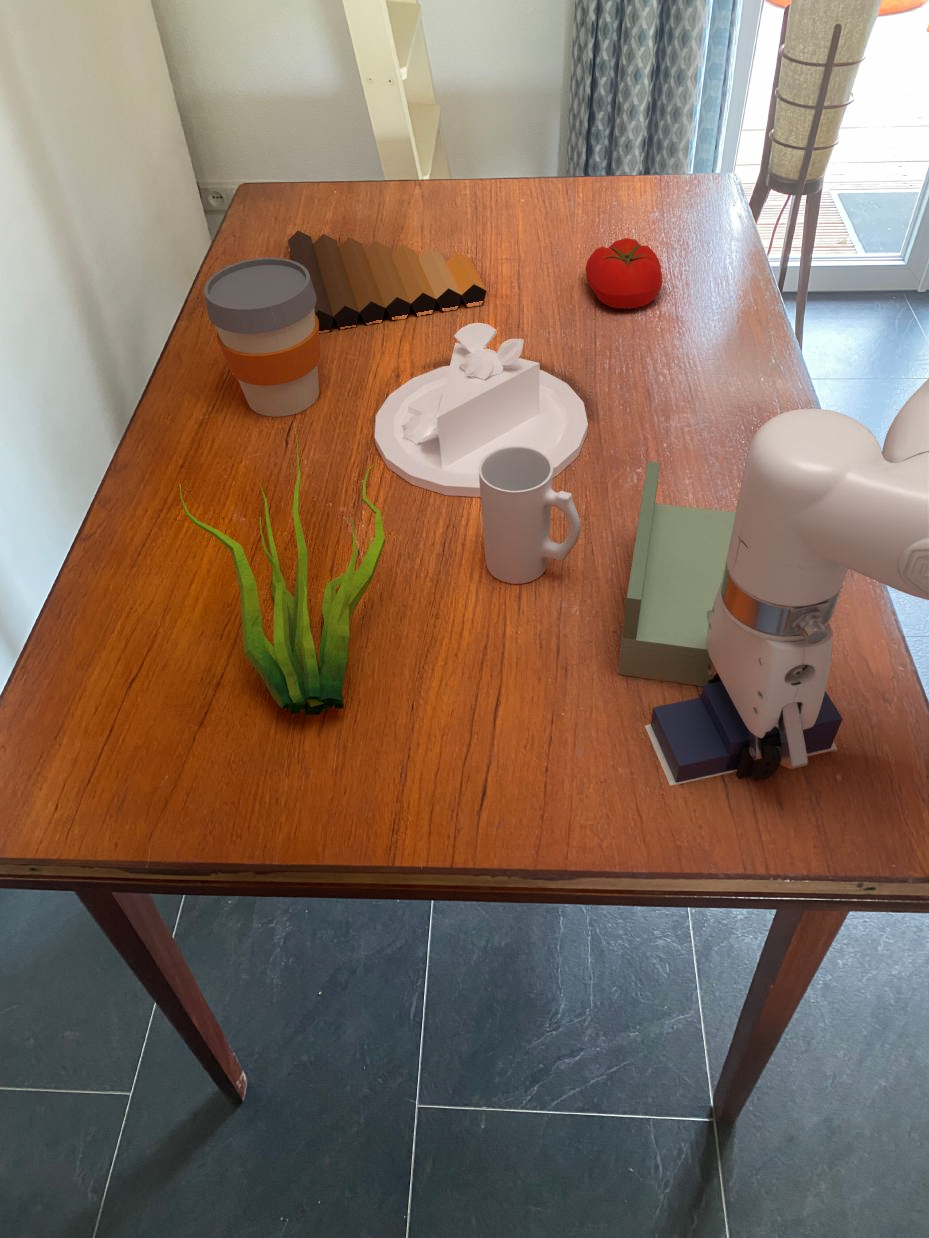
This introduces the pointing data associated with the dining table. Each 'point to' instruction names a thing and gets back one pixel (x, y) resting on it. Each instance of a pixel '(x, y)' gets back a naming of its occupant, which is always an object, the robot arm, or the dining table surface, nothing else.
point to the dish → (477, 415)
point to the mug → (522, 514)
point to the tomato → (624, 274)
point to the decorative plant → (301, 618)
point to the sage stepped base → (672, 588)
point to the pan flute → (381, 279)
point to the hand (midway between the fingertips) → (738, 739)
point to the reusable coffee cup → (268, 332)
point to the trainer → (719, 735)
